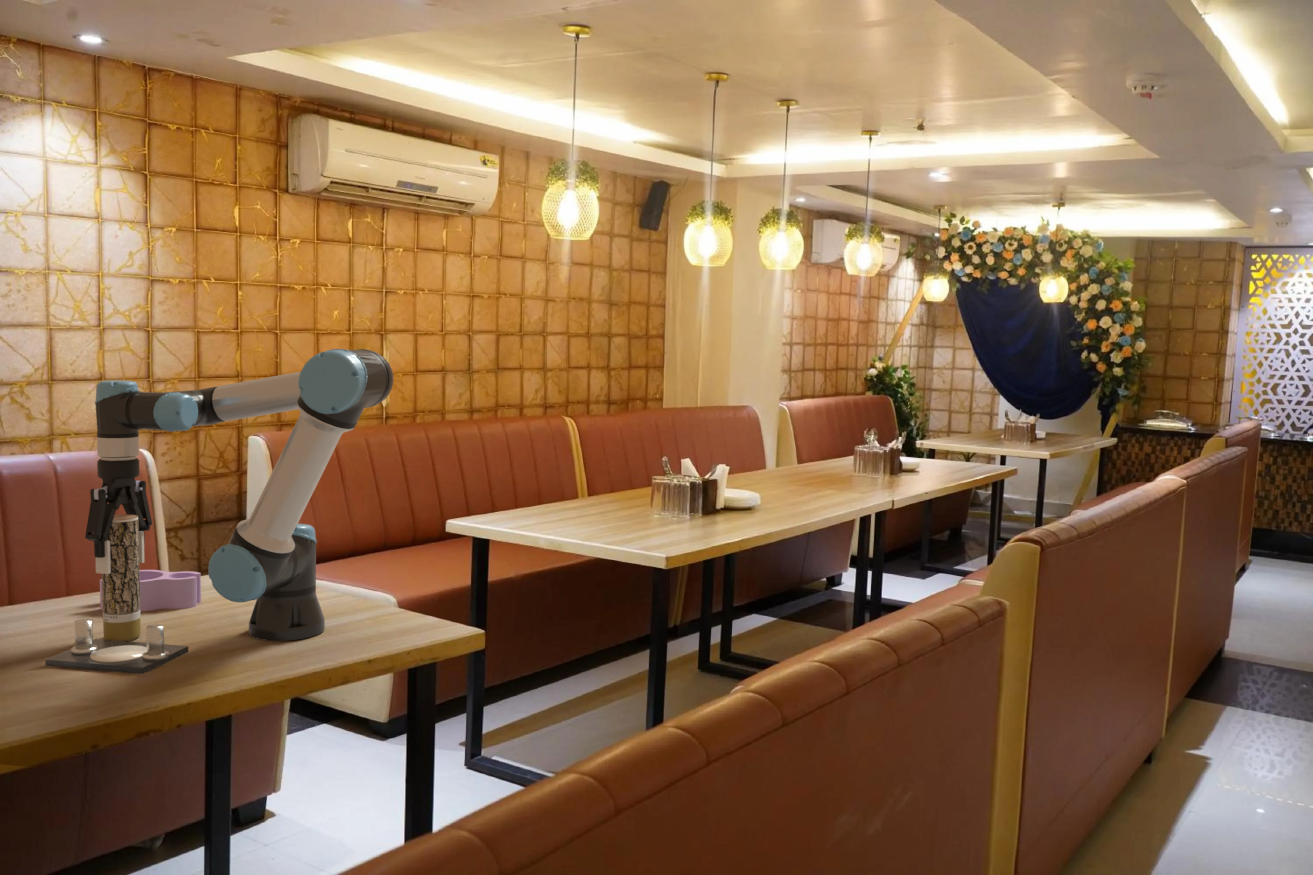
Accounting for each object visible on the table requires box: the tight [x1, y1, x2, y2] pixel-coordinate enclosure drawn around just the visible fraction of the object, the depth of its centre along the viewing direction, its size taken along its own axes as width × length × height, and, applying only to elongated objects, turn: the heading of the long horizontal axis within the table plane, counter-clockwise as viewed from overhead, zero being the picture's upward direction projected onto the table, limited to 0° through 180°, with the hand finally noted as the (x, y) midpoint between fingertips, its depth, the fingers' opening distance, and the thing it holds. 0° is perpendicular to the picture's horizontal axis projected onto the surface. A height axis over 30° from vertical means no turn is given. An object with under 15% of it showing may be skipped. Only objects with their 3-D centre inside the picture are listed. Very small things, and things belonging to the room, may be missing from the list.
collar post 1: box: [70, 618, 97, 655], centre depth 203 cm, size 4×4×6 cm
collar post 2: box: [143, 623, 169, 661], centre depth 200 cm, size 4×4×6 cm
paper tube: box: [101, 513, 142, 642], centre depth 215 cm, size 7×7×25 cm
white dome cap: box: [90, 645, 147, 663], centre depth 202 cm, size 10×10×1 cm
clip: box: [99, 569, 202, 613], centre depth 242 cm, size 20×12×7 cm, turn 100°
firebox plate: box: [44, 638, 189, 675], centre depth 203 cm, size 20×14×1 cm
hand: (120, 567), depth 215 cm, fingers open, 10 cm apart
